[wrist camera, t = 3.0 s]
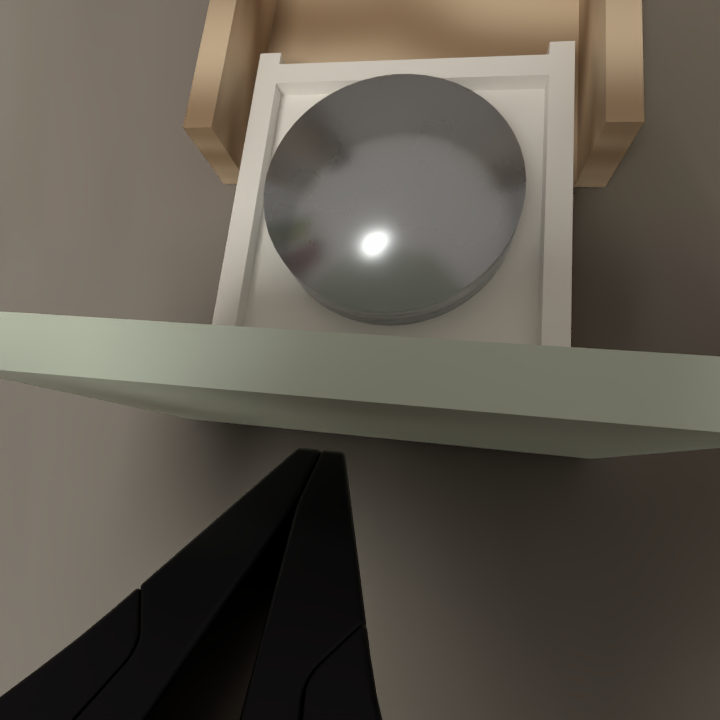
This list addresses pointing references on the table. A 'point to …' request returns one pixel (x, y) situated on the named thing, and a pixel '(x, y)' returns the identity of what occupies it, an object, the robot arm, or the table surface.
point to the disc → (395, 198)
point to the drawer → (398, 342)
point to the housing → (422, 41)
